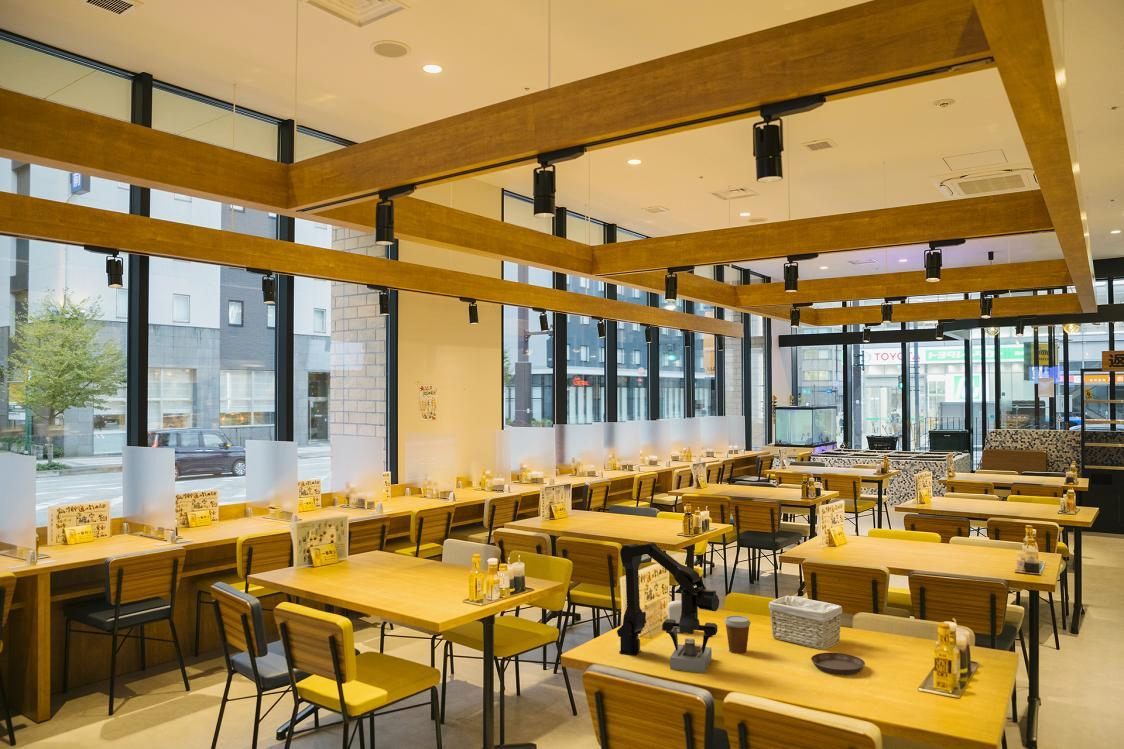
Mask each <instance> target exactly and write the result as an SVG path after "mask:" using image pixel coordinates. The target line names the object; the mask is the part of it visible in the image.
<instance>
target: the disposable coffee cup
mask: <svg viewBox="0 0 1124 749" xmlns="http://www.w3.org/2000/svg"><path fill="white" fill-rule="evenodd" d="M724 624H725V627H726V628H725V630H726V636H727V642H728V644H727V645H728V651H729V652H731V653H732V654H737V655H742V654H747V652H748V651H747V649H748V640H749V631H750V630H749V629H750V625H751V621H750V619H749V617H747V616H742V615H728V616H726V617H725V620H724Z"/></svg>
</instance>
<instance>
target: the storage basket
mask: <svg viewBox="0 0 1124 749" xmlns="http://www.w3.org/2000/svg"><path fill="white" fill-rule="evenodd" d="M768 609H769V612H770V613H769V614H770V620H771V621H770V624H771V631H772V632H771V634H772V638H773V639H775V640H780V641H783V642H787V643H792V644H793V643H794V644H797V645H800V646H803V647H808V648H815V649H819V650H823V651H824V650H827V649H829V648H831V647H833V646H836V645H837V644H839V643H840V641H841V640H840V637H841V634H840V632H841V626H842V623H841V619H842V613H843V607H842V606H841V605H839V604H834V603H829V602H826V601H819V600H814V599H809V598H804V597H800V596H793V595H791V596H790V595H785V596H782V597H779V598H777V599H773V600H772V601H769V603H768Z"/></svg>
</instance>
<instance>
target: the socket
mask: <svg viewBox="0 0 1124 749" xmlns="http://www.w3.org/2000/svg"><path fill="white" fill-rule="evenodd" d="M712 656H713V655H712V647H711V646H710V647H709V646H706V648H705V651H704V653H702V649H701V651H695V657H693V656H685V650H683V644H679V643H678V651H676V648H675V649H674V650H673V652H672V653H671V655H670V657H669V670H673V671H683V672H689V673H690V672H692V673H701V674H706V671H707V669H708V667H709V665H710V663H711V661H712Z"/></svg>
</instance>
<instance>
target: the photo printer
mask: <svg viewBox="0 0 1124 749" xmlns="http://www.w3.org/2000/svg"><path fill="white" fill-rule="evenodd" d="M680 617H681V600H672V601H670V602H668V605H667V619H672V620H676V623H679V622H680ZM677 633H680V632H679V629H677Z"/></svg>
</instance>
